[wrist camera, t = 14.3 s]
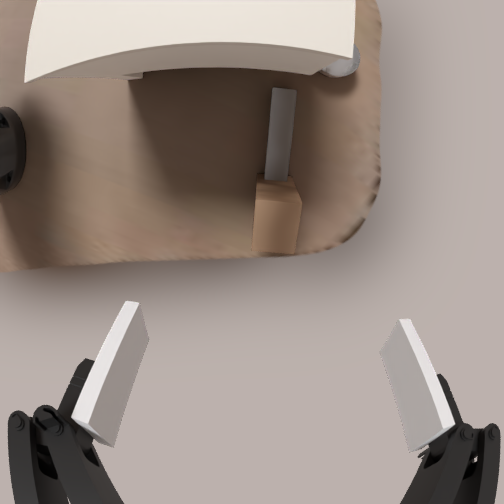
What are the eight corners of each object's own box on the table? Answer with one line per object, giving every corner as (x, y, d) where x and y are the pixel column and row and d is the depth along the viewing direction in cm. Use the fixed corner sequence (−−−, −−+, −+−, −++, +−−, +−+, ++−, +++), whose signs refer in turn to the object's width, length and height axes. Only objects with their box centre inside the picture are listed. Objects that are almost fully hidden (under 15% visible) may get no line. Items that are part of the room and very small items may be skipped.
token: (311, 76, 24) (314, 74, 22) (308, 37, 22) (311, 32, 20) (354, 79, 24) (361, 78, 22) (352, 40, 21) (358, 36, 19)
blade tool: (253, 213, 33) (251, 250, 25) (264, 88, 25) (266, 80, 17) (286, 215, 33) (294, 254, 25) (301, 92, 25) (317, 87, 17)
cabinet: (126, 81, 24) (24, 83, 10) (134, 8, 19) (48, -33, 5) (303, 82, 25) (352, 58, 10) (310, 4, 19) (352, -70, 5)
